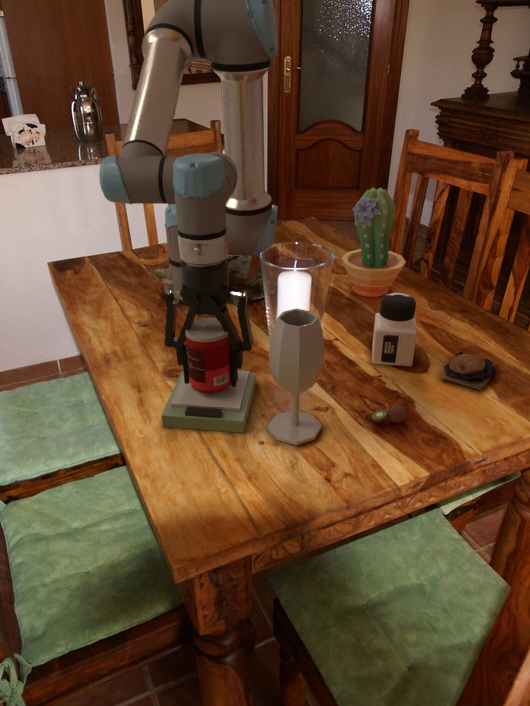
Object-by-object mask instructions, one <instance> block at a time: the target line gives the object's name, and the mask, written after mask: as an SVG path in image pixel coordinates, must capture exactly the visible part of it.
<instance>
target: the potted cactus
mask: <svg viewBox="0 0 530 706" xmlns="http://www.w3.org/2000/svg"><path fill="white" fill-rule="evenodd" d="M396 210H397V207H396V205H395V201H394V200H393V198H392V197H391V195H390V194H389V192H388V191H387V189H383V187H379V188H377V189H376V188H375V187H371V188H370V189H366V191H365V192H364V194H363V195H362V196H361V197H360V199H359V200H358V201H357V202H356V204H355V206H354V207H353V208H352V211H353V212H354V213H353V216H354V226H355V229H356V232H357V234H358V238H359V244H360V248H359V249H354V250H352V251H351V250H350V251H348V252H346V253H345V254H343V255H342V256H341V262H342V265H343V267H344V270H346V273H347V276H348V279H349V281H350V282H351V284H352V287H351V288H352V291H353V293H355V294H357V295H359V296H363V297H368V298H374V297H375V298H376V297H377V298H379V297H381V296H382V297H383V296H385V295H387V294H388V293H389V292H390V290H389V287H390V286H391V285H392V284H393V283H394V281H395V280H396V279H397V278H398V275H399V273H401V271H403V269H404V268H405V265H406V263H407V261H406V260H405V258H404V257H403V256H402V255H401V254H399V253H396V252H394V251H391V250H390V234H391V231H392V229H393V226H394V222H395V216H396Z"/></svg>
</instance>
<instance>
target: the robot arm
mask: <svg viewBox="0 0 530 706" xmlns="http://www.w3.org/2000/svg"><path fill="white" fill-rule="evenodd" d="M275 11H276V10H275V5H274V0H168V1H166V2H165V3H164V4H163V5H162V6H160V8H159V9H158V10H157V12H156V13H155V14H154V16H153V17H152V18H151V20H150V22H149V23H148V25H147V27H146V29H145V31H144V35H143V38H142V42H141V52H142V56H143V61H142V66H141V70H140V75H139V78H138V81H137V86H136V89H135V93H134V98H133V102H132V106H131V110H130V115H129V118H128V122H127V127H126V130H125V134H124V137H123V142H122V146H121V150H120V153H119V155H117V154H113V155H109V156H106V157H105V158H104V159H102V161H101V163H100V166H99V174H98V175H99V177H98V178H99V184H100V189H101V192H102V194H103V196H104V198H105V199H106V200H107V201H108V202H110V203H117V204H126V205H133V204H134V205H135V204H136V205H137V204H138V205H139V204H141V205H142V204H146V205H147V204H148V205H151V204H152V205H153V204H154V205H156V204H157V205H158V204H159V205H160V204H162V205H164V204H166V205H167V206H166V207H165V210H164V211H165V212H164V222H165V223H164V228H165V235H166V245H167V256H168V268H167V272H166V276H165V278H164V277H162V283H163V284H164V285H163V290H164V296H163V298H164V303H165V305H166V306H165V307H166V317H165V332H164V346H165V347H167V348H170V347H171V348H173V349H175V352H176V363H177V365H178V366H182V370H183V371H184V382H185V384H189V382H190V381H189V370H188V359H187V348H186V335H185V332H186V330H189V329H190V327H191V325H192V323H193V321H195V318H196V315H197V316H199V315H200V316H203V315H208V316H215V318H217V320H218V321H219V322H220V324H221V326H222V328H223V330H224V332H228V340H229V342H230V344H231V346H232V351H231V353H230V368H231V387H236V384H237V380H238V370H241V369H242V368H243V366H244V352H251V351H252V350H253V346H254V336H253V331H252V325H251V321H250V316H249V315H250V314H249V309H248V299H249V292H248V291H242V292H236V291H233V289H232V288H231V286H230V281H229V280H230V279H229V277H230V276H229V260H227V259H226V258H227V257H228V256H230V255H236V256H248V257H250V256H251V257H255V256H261V255H260V253H261V252H263V251H264V250H266V249H268V248H270V247H272V246H274V241H275V235H276V228H277V222H278V215H279V214H278V213H279V206H278V205H275V204H273V203H272V202H273V201H272V196H271V195H270V194H269V193H268V192H267V191H266V187H265V186H266V185H265V181H266V180H265V177H266V176H265V124H264V122H265V121H264V120H265V119H264V115H265V114H264V76H265V75H266V73H267V72H268V71H269V70H270V69H271V59H274V58H276V57H277V56H278V53H279V44H278V43H279V42H278V41H279V40H278V25H277V17H276V12H275ZM196 59H201V60H202V59H203V60H205V59H207V60H208V59H211V66H212V71H213V72H214V73H215V74H216V75H217V76H218V77H219V79H220V90H221V110H222V125H223V127H222V128H223V143H224V144H223V147H224V153H223V152H219V151H211V152H206V153H204V152H202V153H201V152H199V153H190V154H189V153H188V154H185V155H182V156H168V155H167V152H168V147H169V142H170V139H171V133H172V129H173V124H174V119H175V115H176V110H177V105H178V101H179V96H180V91H181V87H182V82H183V78H184V73H185V72H186V71H187V70H188V69H189V68H190V66H191V64H192V61H193V60H196ZM272 248H273V247H272ZM230 300H231V301H232V302H233V305H234V306H235V308H237V309H236V310H237V317H238V321H239V322H238V323H239V328H240V333H241V336H240V334H239V332H238V330H237V328H236V326H235V324H234V321H233V320H232V317H231V315H230V313H229V309H228V306H227V304H228V303H229V301H230ZM178 304H182V305H187V307H189V308H188V311H187V314H186V316H185V319H184V322H183V325H182V328H181V330H180V333H179V336H178V337H177V336H176V330H177V329H176V328H177V318H178V317H177V313H178ZM241 337H242V338H241Z"/></svg>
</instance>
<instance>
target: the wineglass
mask: <svg viewBox="0 0 530 706" xmlns="http://www.w3.org/2000/svg"><path fill="white" fill-rule="evenodd" d="M321 324H322V323H321V321H320V318H319V316H318V315H316V314H315V313H314V312H313V311H311V310H307V309H301V308H293V309H287V310H285V311H282V312H281V313H280V314H279V315H278V316H277V317H276V320H275V323H274V326H273V329H272V331H271V337H270V338H271V339H270V344H269V349H268V367H269V369H270V372H271V375H272V379H273V381H274V382H275V383H276V384H277V385H278V386H279V387H280V388H281V389H283V390H284V391H286V392H288V393H289V394H290V409H289V410H286V411H282V412H279V413H276V414H275V415H274V417H272V419H271V420H270V421H269V423H268V424H267V426H266V429H267V430H268V431H269V433H270V434H272V436H273V437H274V438H275V439H276V441H280V442H283V443H286V444H290V445H293V446H300V445H302V444H306V443H309V442H311V441H314V440H315V439H316V438H317V436H318V434H319V433H320V431H321V429H322V428H323V425H322V424H321V422H320V421H318V419H316V417H314V416H313V414H312V413H308V412H306V411H305V412H304V411H300V400H301V398H300V397H301V394H303V393H305V392H307V391H308V390H310V389H312V388H313V387H314V386H315V384H316V383H317V382H318V380H319V378H320V375H321V373H322V370H323V367H324V364H325V350H326V348H325V341H324V332H323V327H322V325H321Z"/></svg>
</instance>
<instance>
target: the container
mask: <svg viewBox="0 0 530 706" xmlns="http://www.w3.org/2000/svg"><path fill="white" fill-rule="evenodd" d="M379 307H380V308H379V312H376V313H375V317H374V323H373V324H374V325H373V336H372V344H371V347H372V349H371V363H372V364H374V365H384V366H385V365H386V366H398V367H409V368H411V367H413V365H414V364H413V363H414V356H415V350H416V343H417V337H418V330H417V329H418V328H417V322H416V315H415V313H416V307H417V301H416V299H415V298H414V297H413V296H411V295H409V294H406V293H403V292H402V293H401V292H392V293H387V294H385V295H383V296H382V297H381V299H380V306H379Z"/></svg>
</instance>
